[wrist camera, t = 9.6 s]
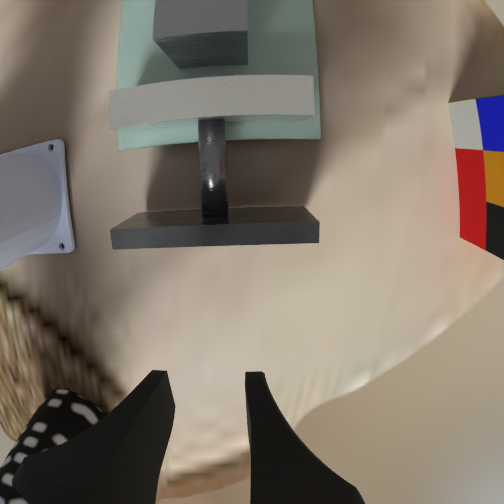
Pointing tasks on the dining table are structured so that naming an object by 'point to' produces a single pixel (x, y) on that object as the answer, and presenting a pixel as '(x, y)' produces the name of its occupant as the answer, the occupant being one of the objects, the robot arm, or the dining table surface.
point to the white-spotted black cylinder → (47, 434)
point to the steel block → (202, 32)
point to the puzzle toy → (480, 170)
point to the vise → (223, 67)
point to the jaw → (214, 158)
